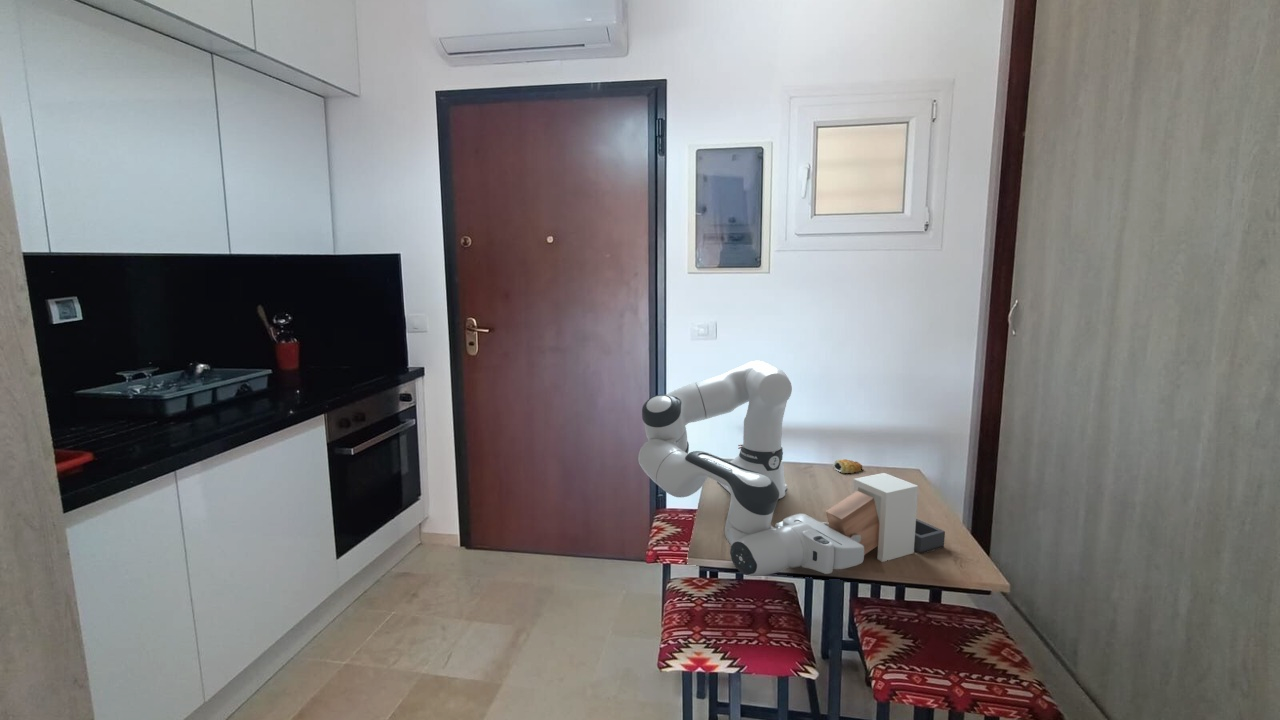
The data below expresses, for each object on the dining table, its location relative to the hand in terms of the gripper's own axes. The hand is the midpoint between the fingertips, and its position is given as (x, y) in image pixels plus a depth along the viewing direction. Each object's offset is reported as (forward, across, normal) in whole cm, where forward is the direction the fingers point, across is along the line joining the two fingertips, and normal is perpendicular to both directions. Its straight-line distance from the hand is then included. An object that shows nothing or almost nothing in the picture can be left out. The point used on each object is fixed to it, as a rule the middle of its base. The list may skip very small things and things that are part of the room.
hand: (847, 531), depth 136 cm
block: (+4, 0, -5) cm, 6 cm away
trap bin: (+21, 0, -6) cm, 22 cm away
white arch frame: (+11, 0, -6) cm, 13 cm away
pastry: (+45, -46, -7) cm, 65 cm away
